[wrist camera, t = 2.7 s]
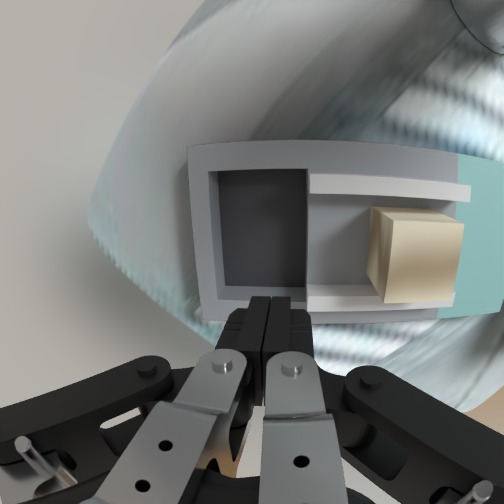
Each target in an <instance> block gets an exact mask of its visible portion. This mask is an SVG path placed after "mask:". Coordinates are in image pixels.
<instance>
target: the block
mask: <svg viewBox="0 0 504 504" xmlns="http://www.w3.org/2000/svg"><path fill="white" fill-rule="evenodd" d="M463 232H464V224H463V223H461V222H459V221H457V220H455V219H452V218H450V217H448V216H446V215H443V214H441V213H439V212H436V211H434V210H432V209H422V208H405V207H385V206H371V211H370V229H369V243H368V255H367V266H366V273H367V275H368V277H369V279H370V280H371V282H372V284H373V285H374V287H375V289H376V291H377V292H378V294H379V296H380V298H381V300H382V301H383V303H409V302H429V301H445V300H451V296H452V292H453V288H454V284H455V279H456V274H457V269H458V264H459V258H460V252H461V246H462V239H463Z"/></svg>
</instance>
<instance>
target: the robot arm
mask: <svg viewBox="0 0 504 504" xmlns="http://www.w3.org/2000/svg"><path fill="white" fill-rule="evenodd" d="M451 1H452V4H453V7H454V9H455V11H456V13H457V14H458V16H459V18H460V19H461V21H462V22H463V23H464V25H465V26H466V27H467V29H468V30H469V31H470V32H471V33H472V34H473V35H474V36H475V37H476V38H477V39H478V40H479V41H480V42H481V43H482V44H484V45H485V46H486V47H488V48H489V49H491V50H492V51H494V52H496V53H499V54H504V0H451ZM263 396H264V406H265V416H264V418H263V435H262V453H261V472H260V476H255V477H245V478H236V473H237V467H238V464H239V461H240V458H241V455H242V452H243V449H244V446H245V442H246V439H247V436H248V433H249V429H250V426H251V417H252V413H253V408H254V406H262V402H263ZM137 407H138V409H139V411H140V413H141V414H140V415H138V416H136V417H133V418H131V419H129V420H127V421H125V422H122V423H120V424H118V425H115V426H113V427H111V428H107V429H103V428H100V425H101V424H102V423H103V422H105V421H107V420H109V419H112V418H114V417H117V416H119V415H121V414H124V413H126V412H128V411H130V410H133V409H135V408H137ZM341 457H342V458H343V459H344V460H346V461H347V462H348V463H349V464H351V465H352V466H353V467H354V468H355V469H357V470H358V471H359V472H360V473H361V474H363V475H364V476H365V477H366V478H368V479H369V480H370V481H372V482H373V483H374V484H375V485H377V486H378V487H379V488H381V489H382V490H383V491H385V492H386V493H387V494H389V495H390V496H391V497H393V498H394V499H396V500H397V501H398V502H400V503H401V504H504V435H502V434H500V433H498V432H496V431H494V430H492V429H491V428H489V427H487V426H485V425H483V424H481V423H479V422H477V421H476V420H474V419H472V418H470V417H468V416H466V415H464V414H463V413H461V412H459V411H457V410H455V409H454V408H452V407H450V406H448V405H446V404H445V403H443V402H441V401H439V400H437V399H436V398H434V397H432V396H430V395H429V394H427V393H425V392H423V391H422V390H420V389H418V388H416V387H415V386H413V385H411V384H409V383H408V382H406V381H404V380H402V379H401V378H399V377H397V376H396V375H394V374H392V373H390V372H389V371H387V370H385V369H383V368H381V367H377V366H368V365H367V366H360V367H357V368H354V369H353V370H351V371H350V372H349V373H348V374H347V375H346V376H340V375H335V374H331V373H329V372H326V371H324V370H323V369H321V368H320V367H319V366H318V365H317V363H316V361H315V360H314V350H313V337H312V326H311V316H310V314H309V313H308V312H307V311H306V310H305V309H291V296H272V299H271V296H251V299H250V302H249V305H248V308H237V309H236V310H234V311H233V312H232V313H231V314H229V317H228V319H227V321H226V324H225V326H224V330H223V331H222V333H221V336H220V338H219V340H218V343H217V345H216V347H215V350H213V351H210V352H208V353H206V354H204V355H203V356H202V357H201V358H200V359H199V361H198V362H197V364H196V366H195V367H191V368H182V369H171V367H170V364H169V362H168V361H167V360H166V359H164V358H162V357H159V356H143V357H140V358H137V359H134V360H133V361H130V362H127V363H125V364H122V365H120V366H117V367H115V368H112V369H110V370H108V371H105V372H103V373H100V374H97V375H95V376H92V377H89V378H87V379H84V380H82V381H79V382H76V383H73V384H71V385H68V386H65V387H63V388H60V389H57V390H54V391H51V392H48V393H46V394H43V395H40V396H37V397H34V398H31V399H28V400H25V401H22V402H19V403H16V404H13V405H9V406H6V407H3V408H0V496H1V500H2V504H375V503H374V502H373V501H372V500H370V499H369V498H368V497H366V496H364V495H363V494H361V493H359V492H357V491H355V490H353V489H350V488H347V487H346V485H345V479H344V472H343V466H342V461H341Z"/></svg>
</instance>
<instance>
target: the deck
mask: <svg viewBox="0 0 504 504" xmlns="http://www.w3.org/2000/svg"><path fill="white" fill-rule="evenodd" d="M187 160H188V178H189V193H190V206H191V219H192V230H193V241H194V251H195V261H196V270H197V279H198V288H199V296H200V304H201V311H202V319H203V320H216V321H227V319H228V317H229V314H231V313H232V312H233V311H234V310H236V309H237V308H248V305H249V302H250V299H251V296H271V299H272V296H291V309H305V310H306V311H307V312H308V313H309V314H310V316H311V324H351V323H382V322H401V321H417V320H430V319H442V318H453V317H462V316H471V315H479V314H487V313H495V312H500V309H501V306H502V302H503V299H504V163H500V162H496V161H492V160H488V159H483V158H478V157H474V156H469V155H463V154H458V153H452V152H447V151H440V150H434V149H427V148H420V147H412V146H403V145H394V144H383V143H371V142H356V141H335V140H262V141H241V142H225V143H213V144H202V145H192V146H187ZM371 206H385V207H405V208H422V209H432V210H434V211H436V212H439V213H441V214H443V215H446V216H448V217H450V218H452V219H455V220H457V221H459V222H461V223H463V224H464V232H463V239H462V246H461V252H460V258H459V264H458V269H457V274H456V279H455V284H454V288H453V292H452V296H451V300H445V301H429V302H409V303H383V301H382V300H381V298H380V296H379V294H378V292H377V291H376V289H375V287H374V285H373V284H372V282H371V280H370V279H369V277H368V275H367V273H366V266H367V255H368V243H369V229H370V211H371Z"/></svg>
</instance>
